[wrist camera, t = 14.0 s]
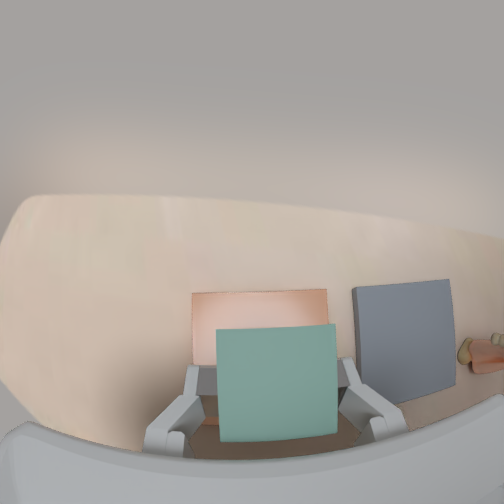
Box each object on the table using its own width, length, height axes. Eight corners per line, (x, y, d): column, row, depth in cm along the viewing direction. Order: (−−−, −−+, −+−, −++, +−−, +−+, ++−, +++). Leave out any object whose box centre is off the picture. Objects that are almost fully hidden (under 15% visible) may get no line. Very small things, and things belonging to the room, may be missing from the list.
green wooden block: (296, 330, 16) (335, 323, 9) (298, 394, 15) (337, 433, 8) (228, 332, 16) (215, 329, 9) (230, 398, 15) (220, 442, 8)
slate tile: (443, 281, 22) (449, 278, 21) (449, 384, 19) (455, 384, 18) (351, 289, 22) (356, 287, 21) (356, 409, 19) (361, 411, 18)
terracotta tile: (322, 291, 22) (326, 288, 21) (327, 414, 19) (331, 417, 18) (194, 295, 21) (192, 293, 20) (198, 420, 18) (196, 424, 17)
